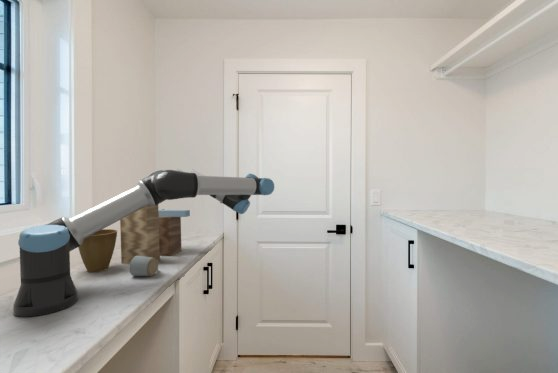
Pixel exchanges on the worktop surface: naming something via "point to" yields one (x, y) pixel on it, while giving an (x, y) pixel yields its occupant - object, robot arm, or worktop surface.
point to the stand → (140, 234)
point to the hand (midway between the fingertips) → (184, 171)
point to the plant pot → (98, 250)
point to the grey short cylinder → (143, 266)
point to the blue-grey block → (174, 213)
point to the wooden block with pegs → (169, 235)
